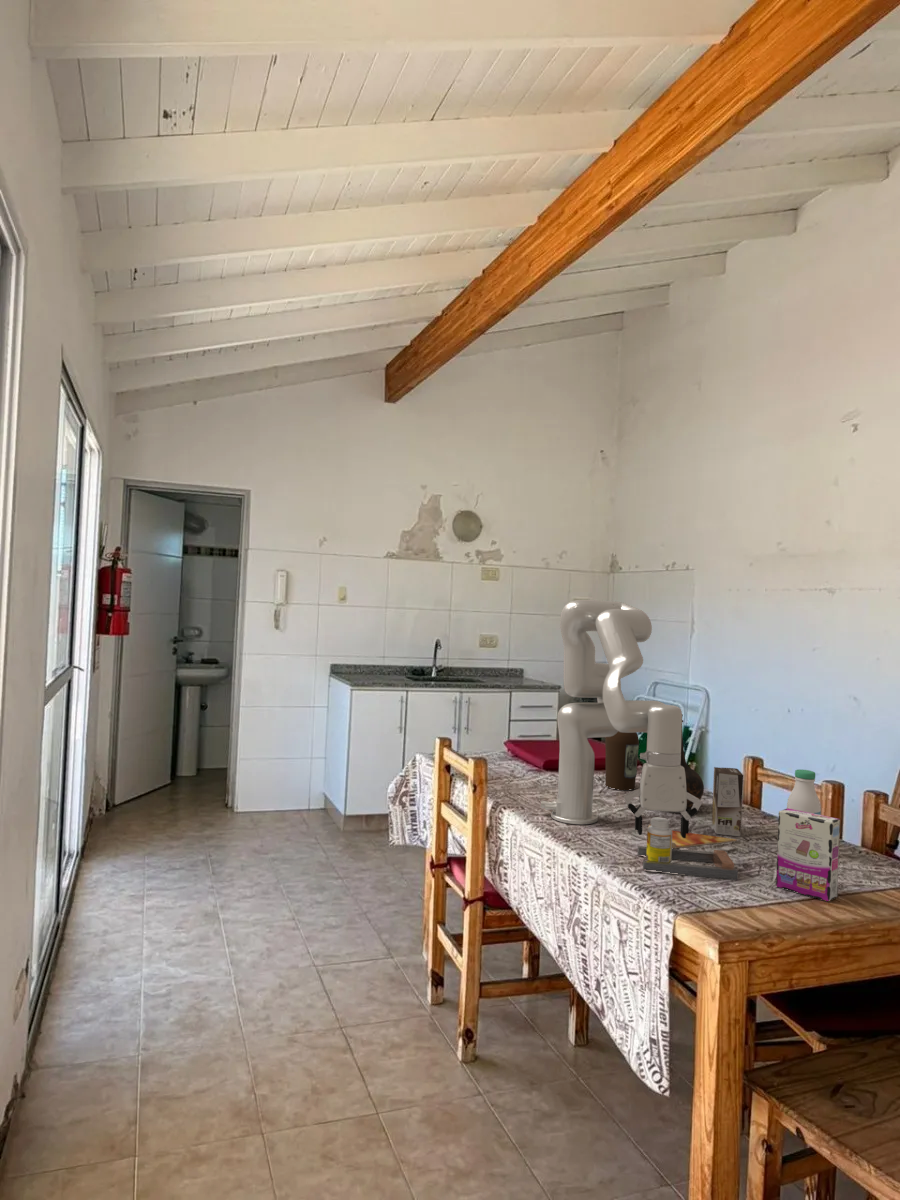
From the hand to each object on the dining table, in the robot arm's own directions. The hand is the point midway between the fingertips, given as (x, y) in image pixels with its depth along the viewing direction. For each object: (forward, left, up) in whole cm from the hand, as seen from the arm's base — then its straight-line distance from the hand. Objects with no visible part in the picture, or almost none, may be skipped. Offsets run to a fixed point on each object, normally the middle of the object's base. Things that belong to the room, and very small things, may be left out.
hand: (661, 834), depth 177 cm
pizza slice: (+10, +19, -8) cm, 23 cm away
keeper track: (+6, +1, -7) cm, 9 cm away
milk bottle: (+37, +20, -7) cm, 42 cm away
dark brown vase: (+11, +54, -7) cm, 56 cm away
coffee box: (+22, +34, -7) cm, 41 cm away
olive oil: (-2, +76, -7) cm, 76 cm away
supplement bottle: (0, +1, -7) cm, 7 cm away
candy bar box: (+29, -9, -7) cm, 31 cm away
